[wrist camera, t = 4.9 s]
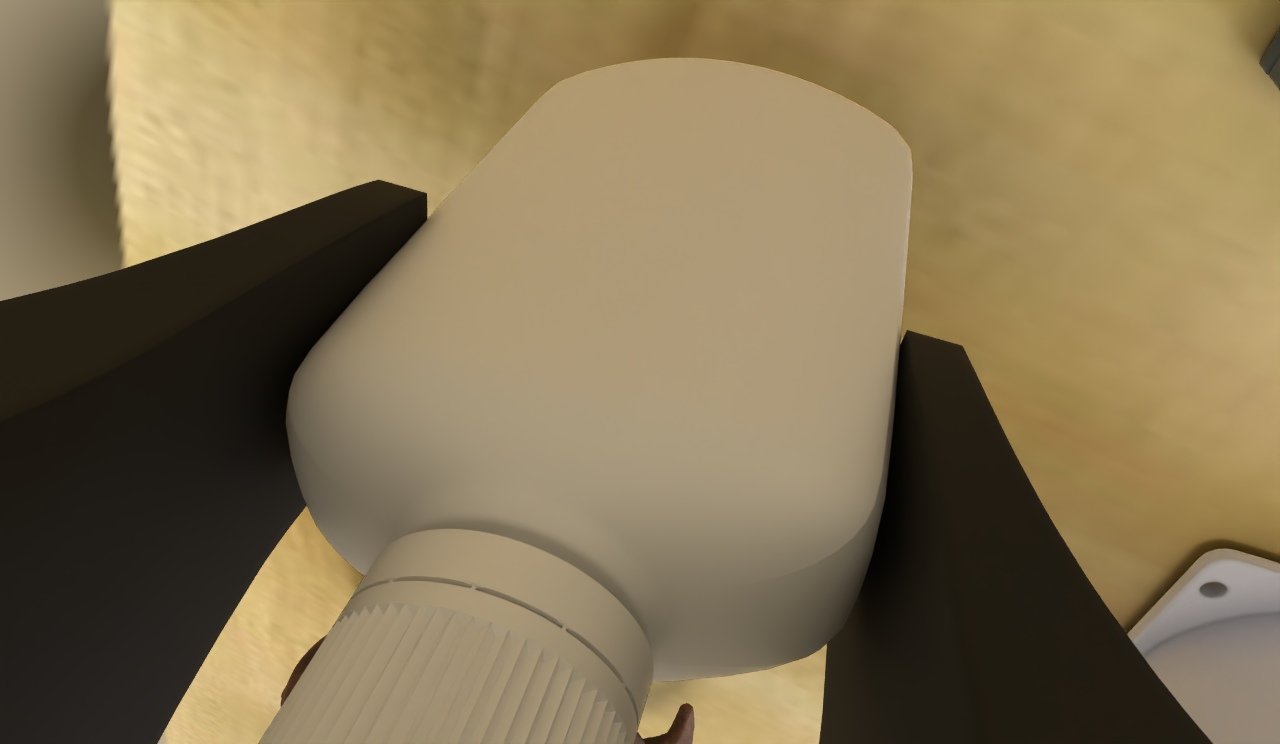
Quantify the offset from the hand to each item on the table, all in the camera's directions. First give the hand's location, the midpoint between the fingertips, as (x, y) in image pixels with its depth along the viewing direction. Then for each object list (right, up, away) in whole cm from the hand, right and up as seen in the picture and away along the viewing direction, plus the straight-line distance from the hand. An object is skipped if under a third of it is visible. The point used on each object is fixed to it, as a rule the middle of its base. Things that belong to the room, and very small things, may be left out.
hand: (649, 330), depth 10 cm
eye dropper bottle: (+1, +3, +3) cm, 5 cm away
